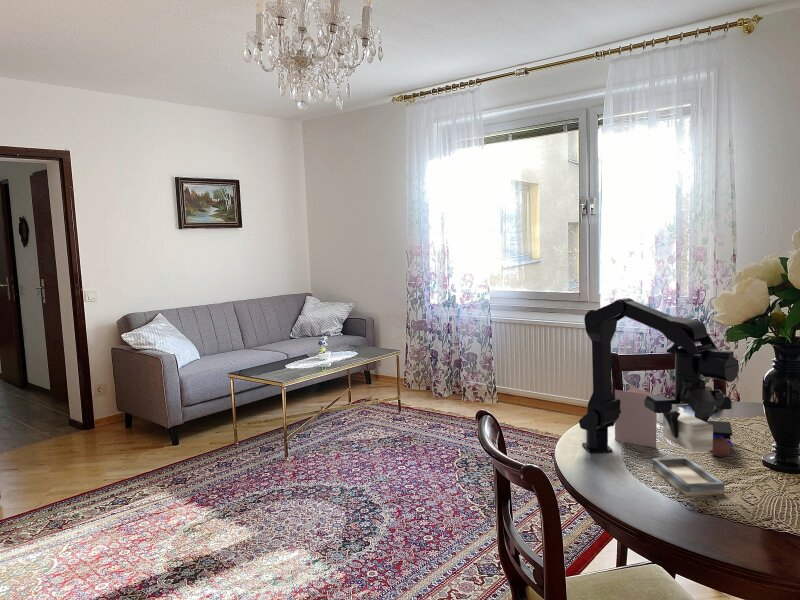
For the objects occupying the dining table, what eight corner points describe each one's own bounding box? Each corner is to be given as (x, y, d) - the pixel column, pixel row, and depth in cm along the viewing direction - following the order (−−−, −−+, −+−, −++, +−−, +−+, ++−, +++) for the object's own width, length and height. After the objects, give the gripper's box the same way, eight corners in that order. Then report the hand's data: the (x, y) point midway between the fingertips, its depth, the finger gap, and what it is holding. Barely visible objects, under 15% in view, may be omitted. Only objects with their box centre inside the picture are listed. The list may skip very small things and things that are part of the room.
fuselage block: (663, 436, 146) (663, 413, 145) (680, 434, 147) (681, 411, 146) (693, 452, 135) (694, 427, 135) (712, 450, 136) (713, 425, 135)
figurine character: (703, 443, 169) (705, 456, 155) (703, 416, 169) (705, 428, 155) (729, 446, 166) (734, 460, 152) (730, 419, 166) (735, 430, 152)
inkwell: (680, 416, 188) (681, 386, 187) (704, 436, 171) (705, 402, 169) (651, 416, 189) (651, 386, 188) (671, 436, 171) (671, 403, 170)
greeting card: (658, 447, 164) (659, 395, 162) (636, 451, 161) (636, 398, 160) (631, 434, 174) (632, 385, 173) (610, 437, 172) (610, 388, 171)
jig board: (652, 468, 150) (652, 458, 150) (686, 466, 150) (686, 456, 150) (686, 496, 134) (686, 486, 134) (724, 493, 135) (724, 483, 134)
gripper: (667, 384, 131) (666, 451, 132) (748, 380, 132) (745, 446, 133) (643, 372, 142) (643, 434, 144) (718, 368, 143) (716, 430, 144)
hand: (686, 436), depth 141 cm, fingers closed on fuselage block, 5 cm apart
